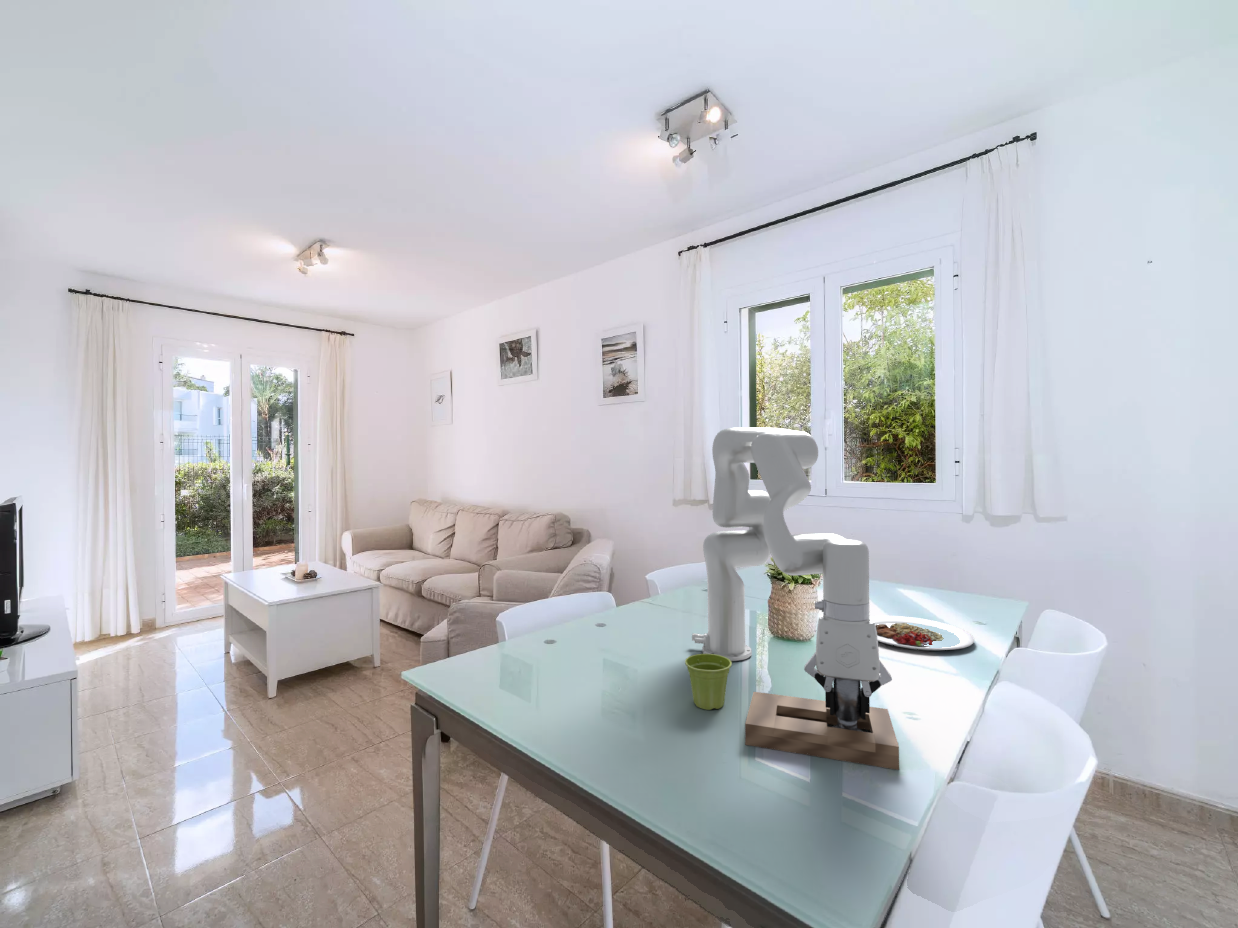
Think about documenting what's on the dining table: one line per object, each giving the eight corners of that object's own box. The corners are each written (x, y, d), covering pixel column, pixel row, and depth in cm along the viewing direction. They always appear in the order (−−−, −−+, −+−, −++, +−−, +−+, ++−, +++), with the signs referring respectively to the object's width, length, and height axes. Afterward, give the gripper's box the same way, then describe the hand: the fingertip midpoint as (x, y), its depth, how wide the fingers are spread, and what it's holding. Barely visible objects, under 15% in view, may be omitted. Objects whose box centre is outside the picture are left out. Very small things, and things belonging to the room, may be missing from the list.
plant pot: (722, 718, 103) (721, 673, 103) (677, 707, 108) (677, 664, 108) (738, 700, 111) (738, 658, 111) (696, 690, 116) (696, 650, 116)
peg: (830, 745, 93) (830, 670, 93) (829, 730, 98) (829, 659, 98) (866, 751, 91) (865, 674, 91) (863, 735, 96) (862, 662, 96)
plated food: (929, 620, 167) (929, 609, 167) (1002, 654, 137) (1002, 641, 137) (835, 622, 166) (834, 611, 166) (887, 657, 136) (886, 643, 136)
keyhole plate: (745, 744, 93) (745, 723, 94) (753, 710, 107) (753, 691, 107) (899, 769, 85) (898, 746, 85) (887, 728, 98) (887, 708, 98)
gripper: (795, 611, 94) (796, 716, 94) (903, 620, 88) (904, 731, 88) (796, 601, 101) (797, 698, 101) (896, 608, 95) (897, 711, 95)
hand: (847, 712), depth 94 cm, fingers closed on peg, 4 cm apart
